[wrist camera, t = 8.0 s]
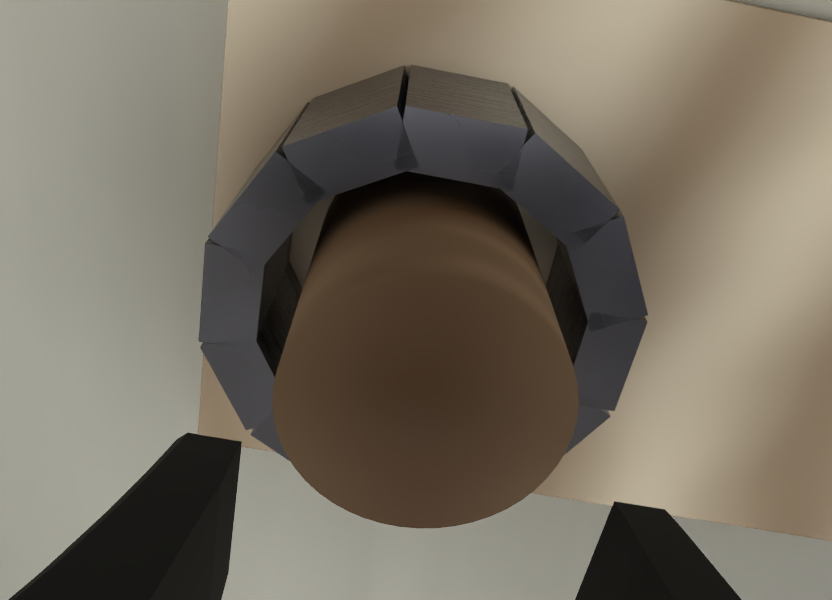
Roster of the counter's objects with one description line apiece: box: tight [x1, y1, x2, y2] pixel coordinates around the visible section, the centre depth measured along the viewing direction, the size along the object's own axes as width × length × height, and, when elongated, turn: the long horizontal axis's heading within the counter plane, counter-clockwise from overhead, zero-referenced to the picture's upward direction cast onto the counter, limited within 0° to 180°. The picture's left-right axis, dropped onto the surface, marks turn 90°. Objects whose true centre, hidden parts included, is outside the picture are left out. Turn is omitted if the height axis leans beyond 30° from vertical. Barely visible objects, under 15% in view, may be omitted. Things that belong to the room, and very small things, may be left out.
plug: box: [272, 171, 579, 528], centre depth 14 cm, size 4×4×6 cm
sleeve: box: [199, 65, 648, 461], centre depth 15 cm, size 8×8×4 cm
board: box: [198, 0, 832, 541], centre depth 17 cm, size 18×12×1 cm, turn 79°
